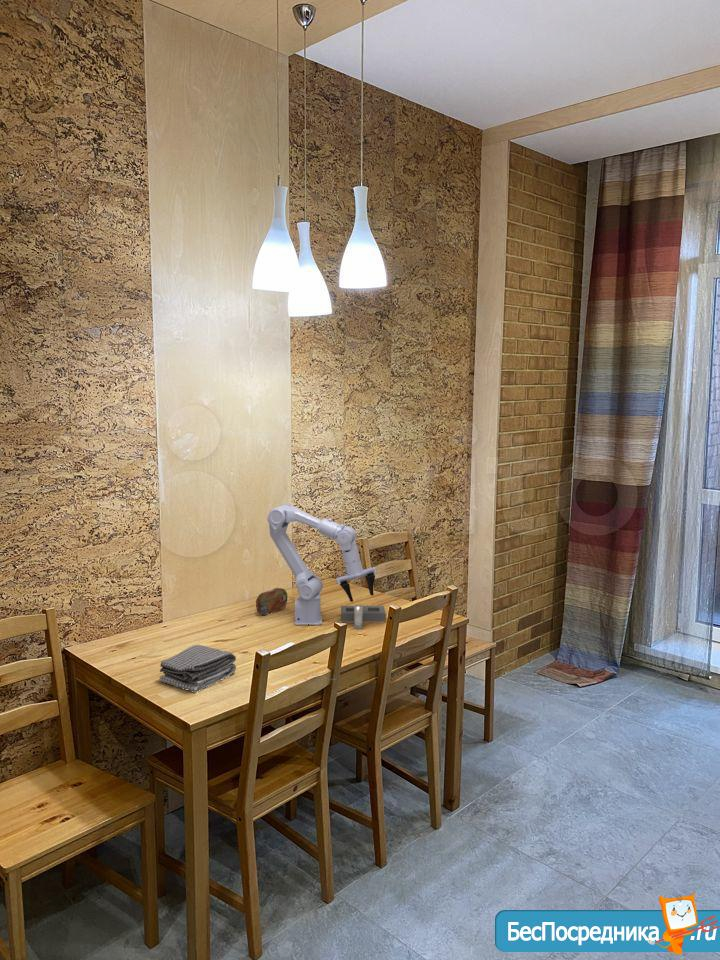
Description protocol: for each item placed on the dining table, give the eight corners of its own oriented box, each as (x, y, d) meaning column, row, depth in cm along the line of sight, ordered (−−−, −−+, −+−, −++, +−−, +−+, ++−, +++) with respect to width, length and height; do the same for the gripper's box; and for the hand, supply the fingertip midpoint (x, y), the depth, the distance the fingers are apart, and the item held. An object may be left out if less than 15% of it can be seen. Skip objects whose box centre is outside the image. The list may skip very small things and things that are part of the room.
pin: (354, 629, 265) (354, 607, 264) (353, 626, 268) (354, 604, 267) (362, 629, 265) (362, 607, 264) (362, 626, 268) (362, 604, 267)
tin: (260, 617, 278) (260, 595, 276) (254, 616, 279) (254, 594, 278) (288, 607, 289) (288, 586, 288) (282, 606, 291) (282, 585, 290)
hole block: (341, 622, 272) (341, 613, 272) (340, 614, 281) (340, 605, 280) (385, 622, 273) (385, 613, 272) (383, 614, 281) (383, 605, 281)
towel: (238, 674, 226) (237, 649, 225) (193, 695, 211) (192, 668, 210) (201, 663, 235) (201, 639, 233) (156, 683, 219) (155, 657, 218)
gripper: (335, 568, 260) (345, 605, 260) (374, 556, 263) (384, 593, 264) (331, 565, 266) (340, 602, 267) (369, 554, 270) (378, 591, 271)
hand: (361, 598), depth 266 cm, fingers open, 7 cm apart
